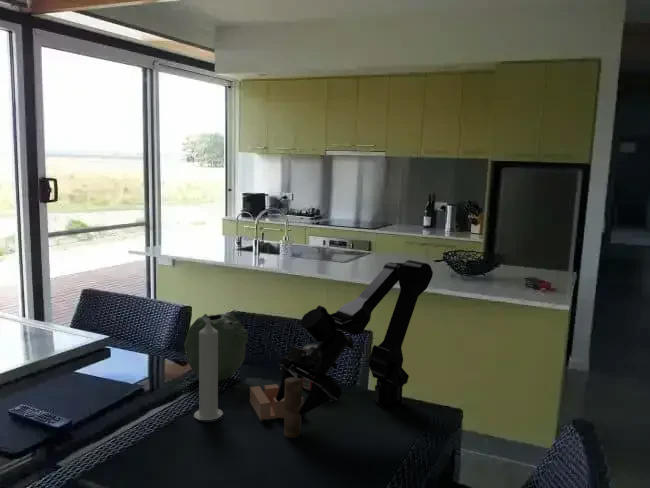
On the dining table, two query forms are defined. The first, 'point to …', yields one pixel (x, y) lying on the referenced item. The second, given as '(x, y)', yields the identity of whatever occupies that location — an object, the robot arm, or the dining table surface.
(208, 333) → the candle
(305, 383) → the soda can
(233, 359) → the green round vase
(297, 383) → the peg
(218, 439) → the dining table surface
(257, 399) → the holder
